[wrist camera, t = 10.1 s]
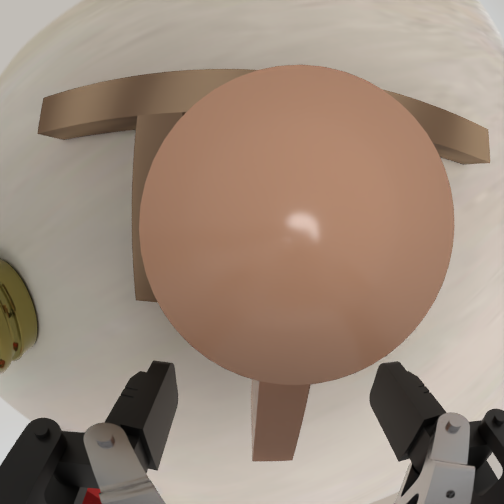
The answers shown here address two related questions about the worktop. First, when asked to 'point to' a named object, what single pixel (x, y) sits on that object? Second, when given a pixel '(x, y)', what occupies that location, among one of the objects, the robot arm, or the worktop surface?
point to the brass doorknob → (14, 317)
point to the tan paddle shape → (295, 234)
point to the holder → (179, 102)
